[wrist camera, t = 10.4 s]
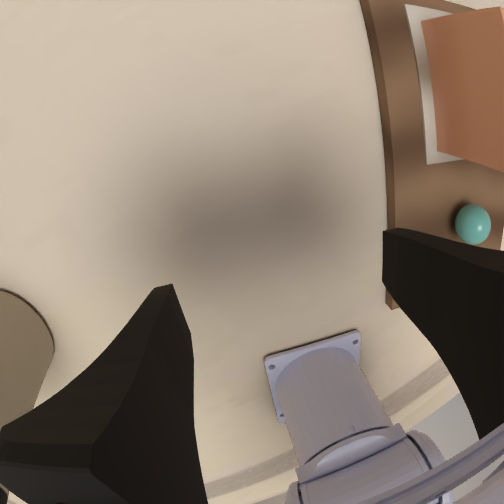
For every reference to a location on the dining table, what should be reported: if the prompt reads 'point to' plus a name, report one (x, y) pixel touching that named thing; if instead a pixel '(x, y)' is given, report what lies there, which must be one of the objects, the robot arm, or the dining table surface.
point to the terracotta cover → (468, 83)
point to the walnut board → (422, 130)
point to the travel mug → (20, 360)
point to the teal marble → (472, 224)
